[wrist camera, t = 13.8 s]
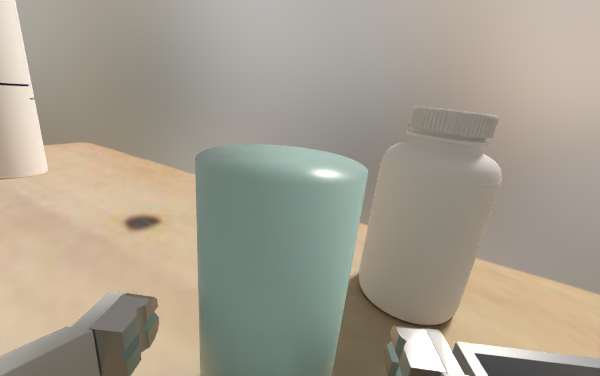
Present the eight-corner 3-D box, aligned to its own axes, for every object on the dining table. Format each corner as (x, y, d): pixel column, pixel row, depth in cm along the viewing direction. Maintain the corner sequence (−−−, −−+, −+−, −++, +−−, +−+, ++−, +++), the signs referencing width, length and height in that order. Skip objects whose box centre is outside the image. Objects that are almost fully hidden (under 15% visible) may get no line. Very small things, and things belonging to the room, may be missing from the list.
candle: (180, 516, 10) (157, 172, 6) (224, 382, 15) (227, 139, 11) (317, 534, 10) (387, 197, 6) (317, 394, 15) (355, 153, 11)
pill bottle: (480, 332, 20) (560, 120, 15) (371, 326, 20) (419, 105, 15) (428, 267, 28) (472, 111, 23) (348, 262, 27) (376, 102, 22)
